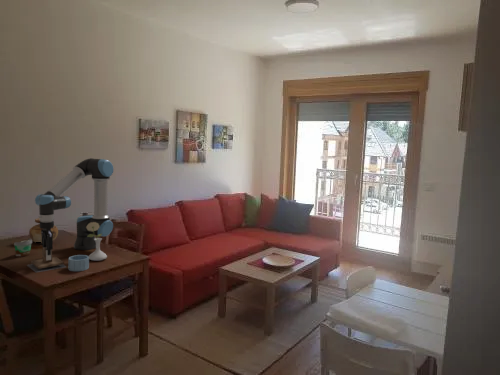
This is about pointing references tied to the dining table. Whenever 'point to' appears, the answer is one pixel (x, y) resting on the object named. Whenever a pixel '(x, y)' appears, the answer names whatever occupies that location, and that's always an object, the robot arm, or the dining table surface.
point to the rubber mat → (45, 268)
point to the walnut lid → (43, 263)
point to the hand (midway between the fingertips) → (47, 259)
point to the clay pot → (36, 232)
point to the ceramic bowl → (78, 263)
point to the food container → (23, 248)
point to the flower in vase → (97, 253)
